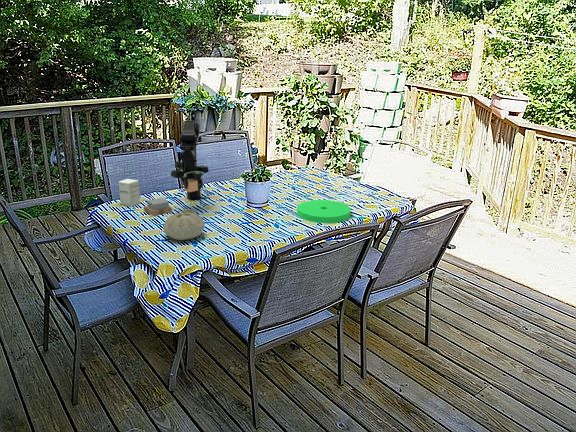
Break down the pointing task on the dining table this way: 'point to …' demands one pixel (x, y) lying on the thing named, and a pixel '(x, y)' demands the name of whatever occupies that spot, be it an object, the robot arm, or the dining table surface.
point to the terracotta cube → (192, 185)
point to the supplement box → (129, 192)
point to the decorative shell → (183, 226)
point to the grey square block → (158, 204)
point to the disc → (323, 211)
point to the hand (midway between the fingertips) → (190, 188)
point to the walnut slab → (157, 211)
